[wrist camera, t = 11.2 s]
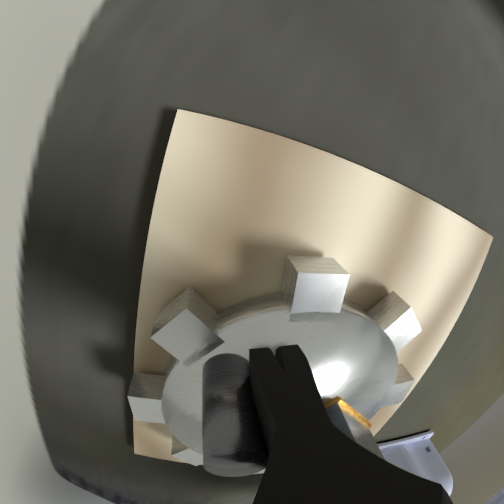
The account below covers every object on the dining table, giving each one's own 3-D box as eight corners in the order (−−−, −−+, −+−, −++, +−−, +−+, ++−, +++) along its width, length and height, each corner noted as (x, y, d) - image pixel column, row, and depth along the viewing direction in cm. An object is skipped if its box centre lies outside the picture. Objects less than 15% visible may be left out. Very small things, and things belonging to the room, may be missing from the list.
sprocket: (323, 177, 9) (433, 216, 4) (429, 366, 14) (475, 424, 9) (83, 376, 11) (49, 466, 6) (257, 471, 16) (269, 533, 11)
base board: (486, 233, 12) (493, 237, 12) (348, 454, 18) (350, 459, 18) (180, 111, 9) (177, 109, 8) (135, 447, 15) (134, 453, 14)
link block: (337, 401, 11) (374, 483, 7) (367, 425, 12) (399, 488, 8) (267, 441, 12) (284, 520, 7) (308, 458, 13) (328, 521, 9)
